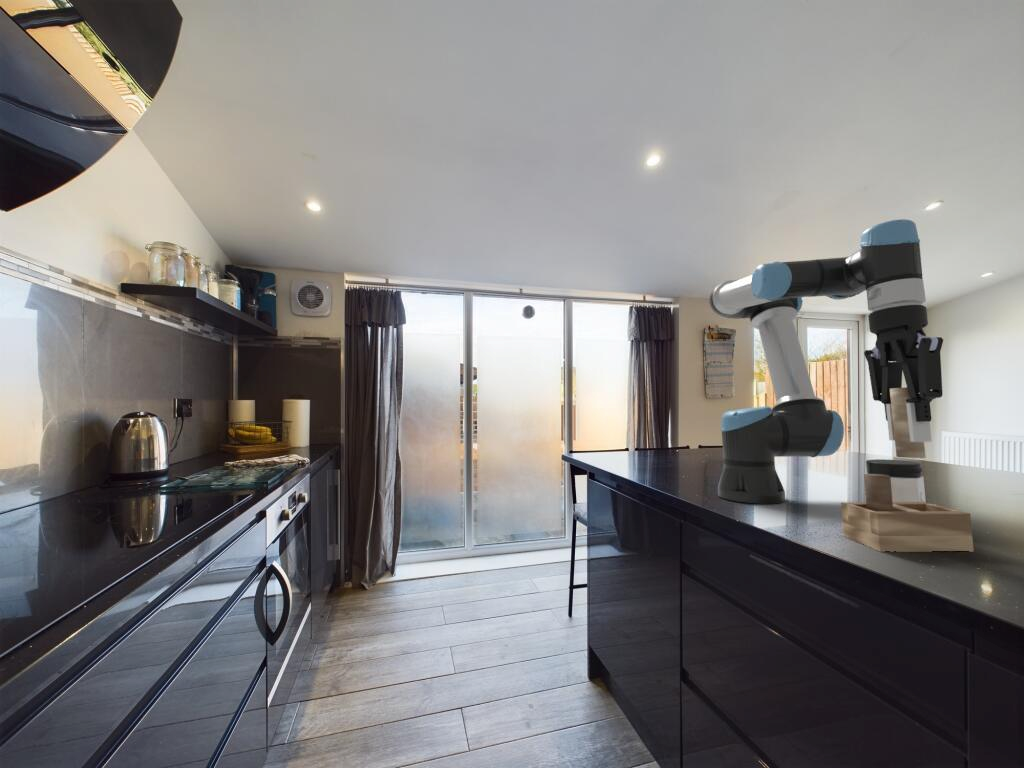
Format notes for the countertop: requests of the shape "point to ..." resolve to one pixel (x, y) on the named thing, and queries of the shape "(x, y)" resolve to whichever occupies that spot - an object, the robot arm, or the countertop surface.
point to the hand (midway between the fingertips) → (909, 440)
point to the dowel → (903, 426)
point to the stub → (878, 492)
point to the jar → (901, 478)
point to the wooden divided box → (908, 527)
